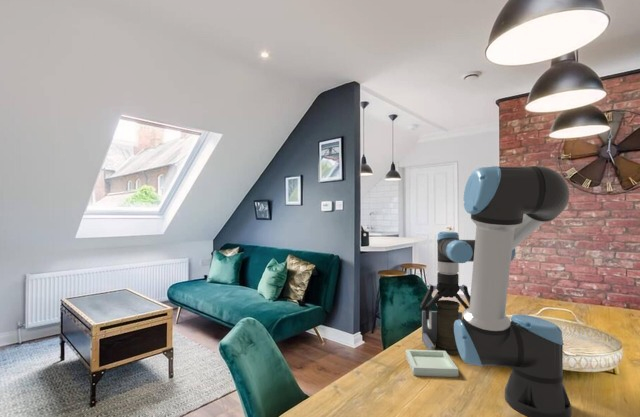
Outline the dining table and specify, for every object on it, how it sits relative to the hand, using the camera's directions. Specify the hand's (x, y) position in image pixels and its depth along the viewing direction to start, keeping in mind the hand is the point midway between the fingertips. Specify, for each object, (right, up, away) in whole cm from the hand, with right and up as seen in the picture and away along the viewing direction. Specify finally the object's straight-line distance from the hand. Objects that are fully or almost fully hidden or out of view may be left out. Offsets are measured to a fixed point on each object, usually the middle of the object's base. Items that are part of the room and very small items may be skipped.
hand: (447, 328), depth 127 cm
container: (0, -8, 0) cm, 8 cm away
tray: (-11, -8, -14) cm, 19 cm away
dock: (0, -8, +1) cm, 8 cm away
